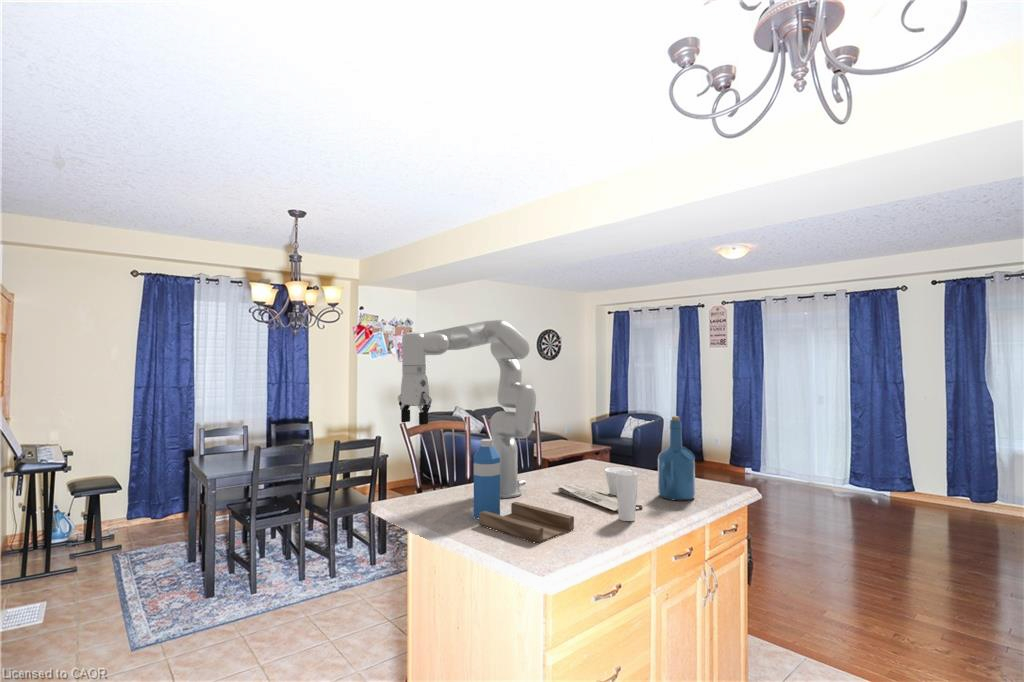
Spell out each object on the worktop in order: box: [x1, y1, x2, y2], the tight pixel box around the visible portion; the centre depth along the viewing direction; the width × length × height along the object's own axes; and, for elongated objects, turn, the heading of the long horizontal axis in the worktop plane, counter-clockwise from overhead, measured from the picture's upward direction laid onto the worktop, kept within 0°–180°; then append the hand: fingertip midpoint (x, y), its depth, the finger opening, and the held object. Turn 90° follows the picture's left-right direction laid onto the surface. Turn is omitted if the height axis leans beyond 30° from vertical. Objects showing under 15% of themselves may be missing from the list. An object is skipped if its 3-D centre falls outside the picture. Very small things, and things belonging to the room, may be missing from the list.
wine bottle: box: [657, 415, 696, 501], centre depth 196 cm, size 14×13×30 cm
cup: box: [604, 467, 632, 497], centre depth 200 cm, size 10×10×9 cm
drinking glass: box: [616, 470, 638, 522], centre depth 168 cm, size 7×7×15 cm
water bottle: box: [473, 438, 501, 519], centre depth 173 cm, size 9×9×25 cm
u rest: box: [478, 501, 575, 544], centre depth 161 cm, size 17×24×4 cm
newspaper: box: [554, 483, 644, 513], centre depth 191 cm, size 35×12×4 cm, turn 33°
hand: (414, 423), depth 171 cm, fingers open, 9 cm apart
